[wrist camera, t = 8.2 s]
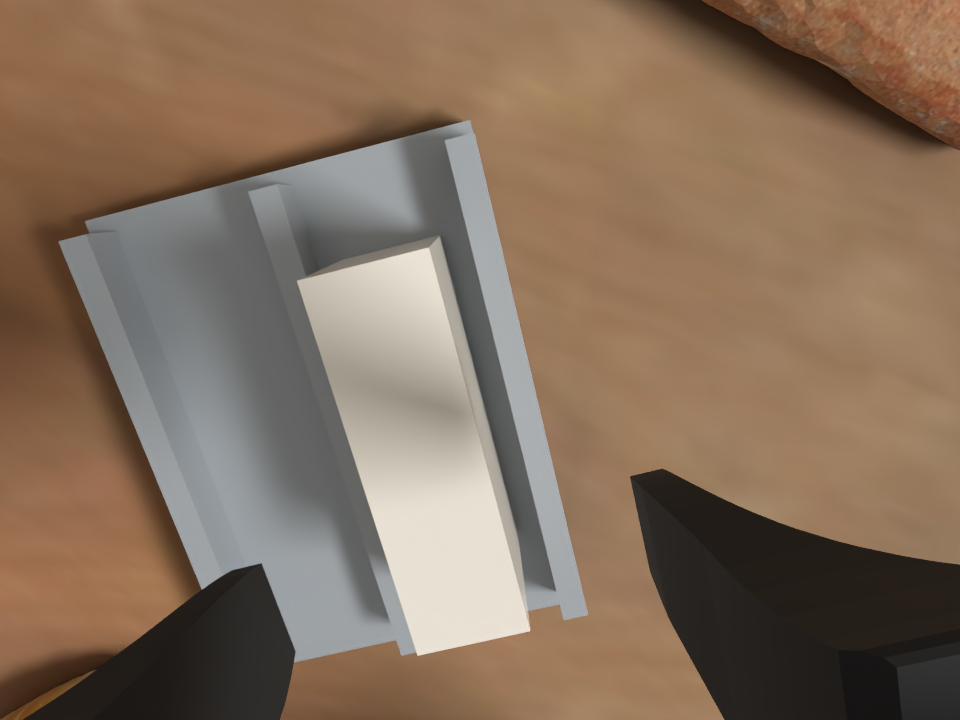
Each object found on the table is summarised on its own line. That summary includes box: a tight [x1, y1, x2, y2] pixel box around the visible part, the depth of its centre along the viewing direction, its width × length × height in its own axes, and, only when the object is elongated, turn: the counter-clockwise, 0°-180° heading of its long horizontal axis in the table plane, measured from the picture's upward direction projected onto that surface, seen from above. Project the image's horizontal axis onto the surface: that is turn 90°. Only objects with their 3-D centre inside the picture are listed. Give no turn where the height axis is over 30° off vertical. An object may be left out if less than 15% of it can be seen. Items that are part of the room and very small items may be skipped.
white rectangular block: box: [297, 235, 530, 656], centre depth 17 cm, size 10×3×5 cm, turn 14°
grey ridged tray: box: [58, 120, 588, 662], centre depth 20 cm, size 16×12×2 cm
